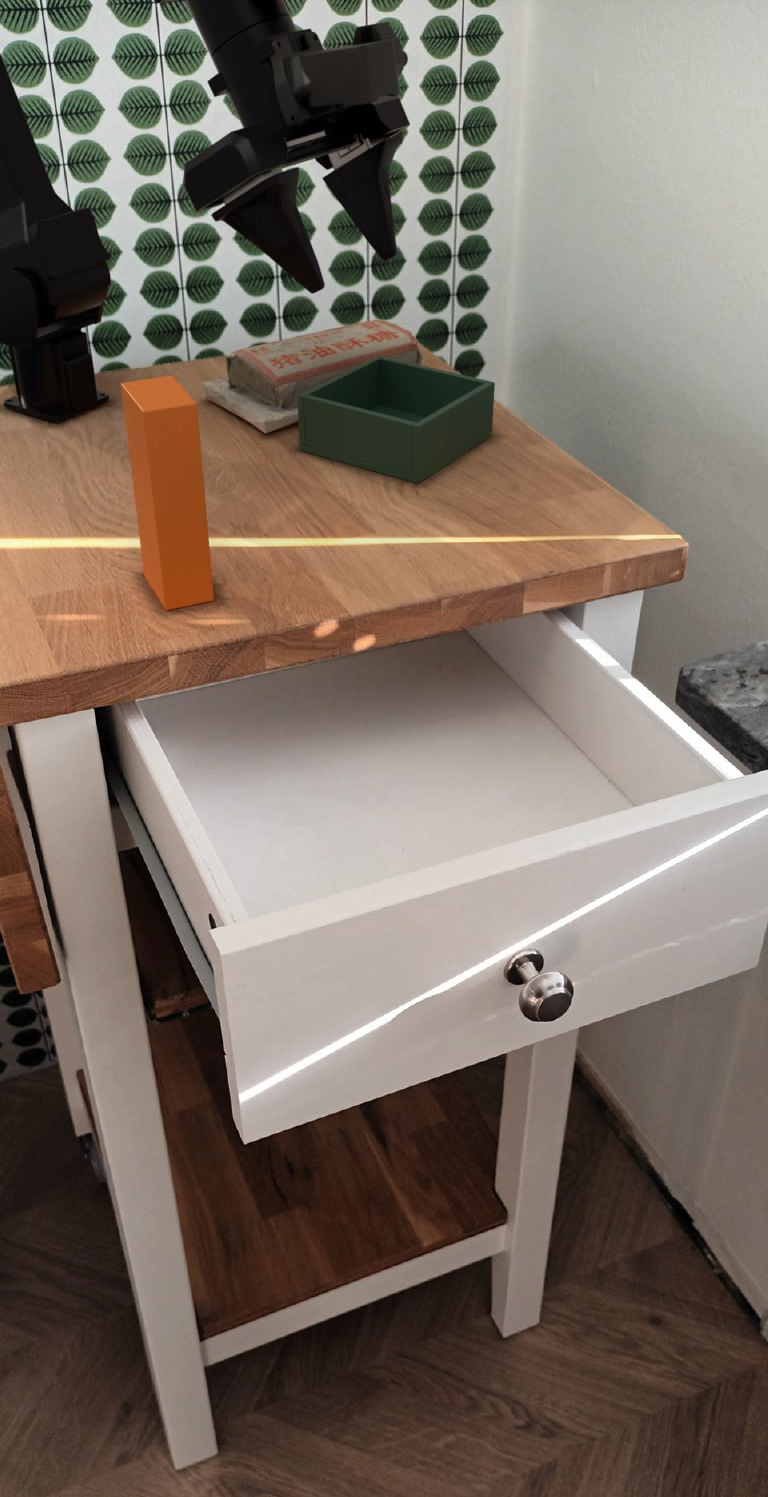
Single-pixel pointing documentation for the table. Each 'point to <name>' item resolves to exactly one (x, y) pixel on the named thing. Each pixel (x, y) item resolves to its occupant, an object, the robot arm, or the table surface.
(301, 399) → the green square open box
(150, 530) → the tall orange pillar
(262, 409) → the packaged product
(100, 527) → the table surface
